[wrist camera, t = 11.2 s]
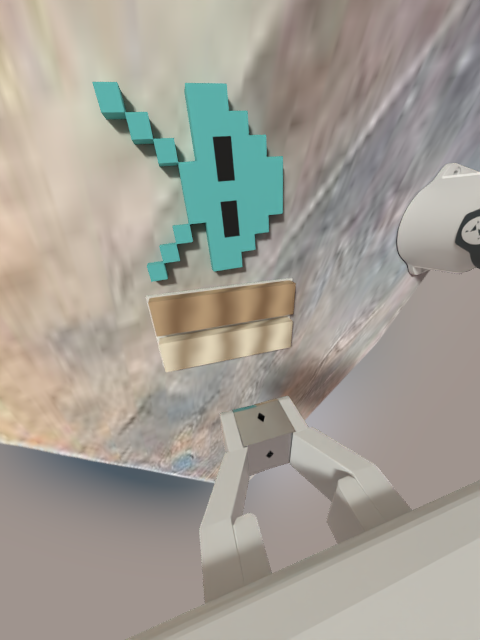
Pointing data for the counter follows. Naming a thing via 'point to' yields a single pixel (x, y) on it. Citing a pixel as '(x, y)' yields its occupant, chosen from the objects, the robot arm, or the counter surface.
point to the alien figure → (211, 173)
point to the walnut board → (221, 307)
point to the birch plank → (225, 343)
